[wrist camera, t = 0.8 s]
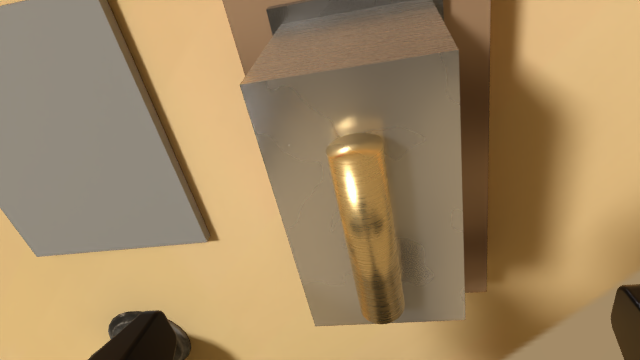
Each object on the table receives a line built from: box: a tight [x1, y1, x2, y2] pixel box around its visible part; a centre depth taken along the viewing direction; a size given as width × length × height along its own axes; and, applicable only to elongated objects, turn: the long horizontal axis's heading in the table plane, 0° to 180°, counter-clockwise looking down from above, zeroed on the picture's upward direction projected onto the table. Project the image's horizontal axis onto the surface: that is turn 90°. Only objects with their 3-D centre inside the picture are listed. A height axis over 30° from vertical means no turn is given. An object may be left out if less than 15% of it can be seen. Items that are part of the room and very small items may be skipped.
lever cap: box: [240, 0, 465, 326], centre depth 12 cm, size 8×4×6 cm, turn 12°
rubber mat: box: [0, 0, 210, 257], centre depth 19 cm, size 12×10×1 cm
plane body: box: [222, 0, 491, 293], centre depth 16 cm, size 18×8×2 cm, turn 12°
